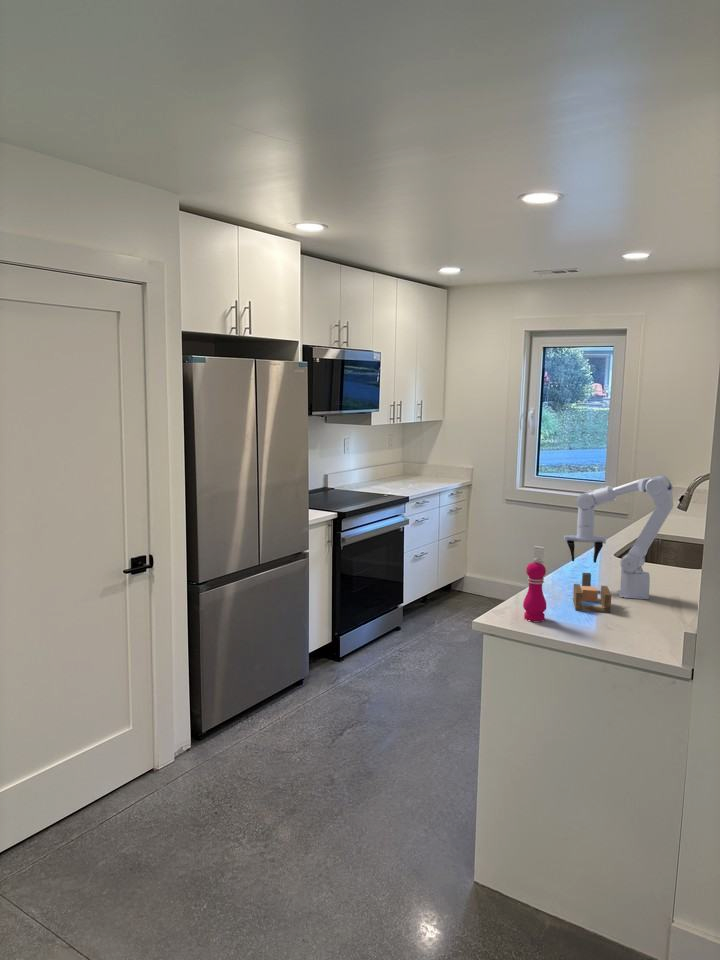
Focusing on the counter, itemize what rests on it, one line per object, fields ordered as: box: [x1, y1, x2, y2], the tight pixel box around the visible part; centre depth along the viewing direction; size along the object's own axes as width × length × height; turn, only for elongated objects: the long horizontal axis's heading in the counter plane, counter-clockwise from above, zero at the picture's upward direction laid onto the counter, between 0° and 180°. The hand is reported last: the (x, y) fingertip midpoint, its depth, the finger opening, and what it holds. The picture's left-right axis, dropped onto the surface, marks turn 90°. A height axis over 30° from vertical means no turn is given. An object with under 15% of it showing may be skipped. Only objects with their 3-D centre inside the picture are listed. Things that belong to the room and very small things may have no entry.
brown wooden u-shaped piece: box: [572, 583, 612, 614], centre depth 230 cm, size 11×11×6 cm
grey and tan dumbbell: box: [580, 572, 599, 603], centre depth 242 cm, size 5×16×6 cm, turn 167°
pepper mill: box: [522, 557, 547, 622], centre depth 216 cm, size 7×7×20 cm
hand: (583, 561), depth 251 cm, fingers open, 7 cm apart
